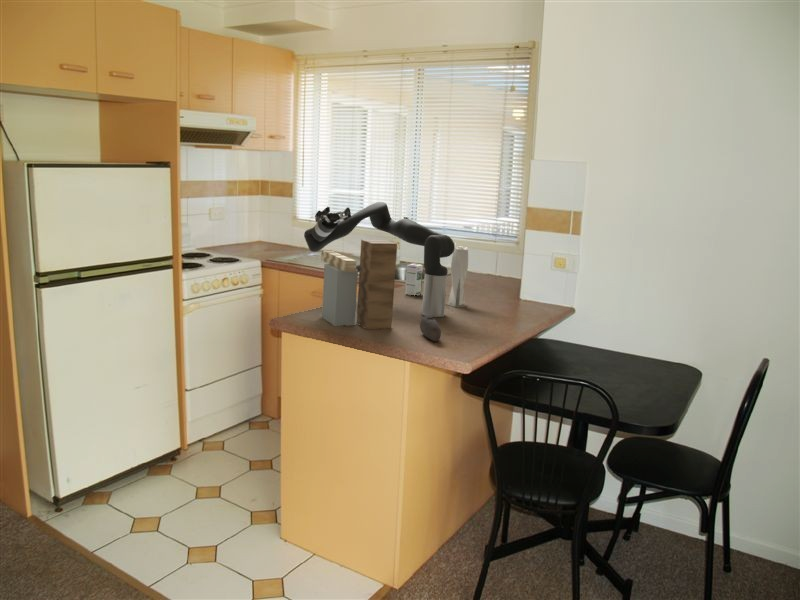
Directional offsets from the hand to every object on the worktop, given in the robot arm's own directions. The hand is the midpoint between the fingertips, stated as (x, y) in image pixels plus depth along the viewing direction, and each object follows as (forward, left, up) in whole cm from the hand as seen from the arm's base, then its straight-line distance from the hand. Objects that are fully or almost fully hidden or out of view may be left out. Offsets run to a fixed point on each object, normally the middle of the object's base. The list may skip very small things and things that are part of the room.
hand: (338, 209), depth 271 cm
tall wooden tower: (-19, +25, -41) cm, 51 cm away
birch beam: (-4, +20, -20) cm, 28 cm away
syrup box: (-31, -41, -41) cm, 66 cm away
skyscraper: (-51, -25, -41) cm, 70 cm away
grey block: (-5, +22, -41) cm, 47 cm away
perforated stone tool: (-41, +37, -41) cm, 69 cm away
